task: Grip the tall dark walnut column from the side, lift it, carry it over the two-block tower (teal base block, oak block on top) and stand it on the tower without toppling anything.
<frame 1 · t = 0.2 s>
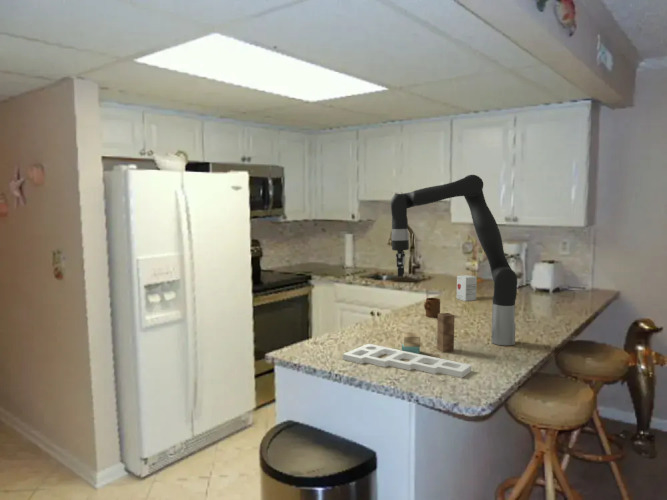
hand: (401, 275, 218), 29 cm above the worktop, tool pointing down, fingers open, 8 cm apart
supplement box: (466, 299, 311), on the worktop
holder: (404, 366, 184), on the worktop
tower base: (410, 353, 199), on the worktop, touching tower mid
walnut column: (445, 350, 203), on the worktop
mug: (430, 317, 263), on the worktop
tower mid: (411, 344, 198), point 4 cm above the worktop, touching tower base
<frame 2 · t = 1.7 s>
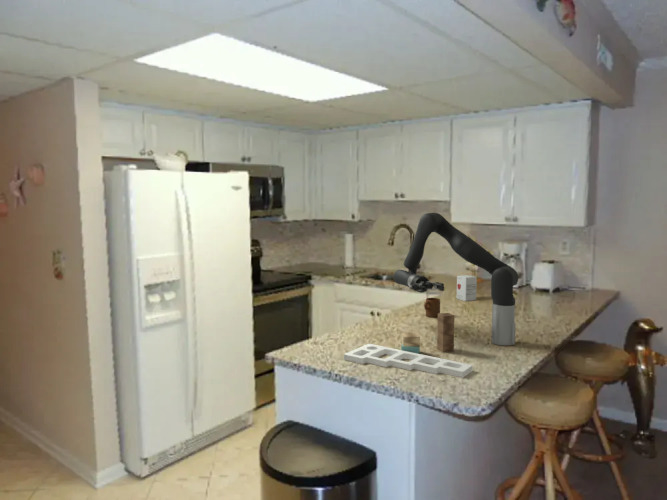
hand: (434, 289, 211), 24 cm above the worktop, tool horizontal, fingers open, 8 cm apart
tower base: (410, 353, 199), on the worktop
tower mid: (410, 344, 198), point 4 cm above the worktop
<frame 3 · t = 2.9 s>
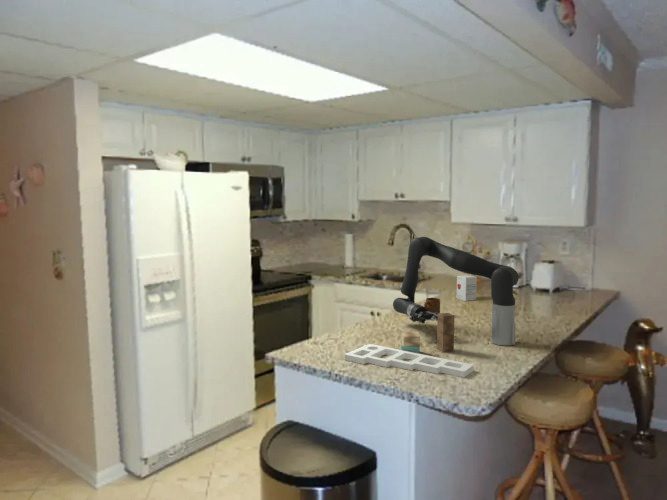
hand: (433, 320, 213), 10 cm above the worktop, tool horizontal, fingers open, 8 cm apart
tower base: (410, 353, 199), on the worktop, touching tower mid
tower mid: (410, 343, 199), point 4 cm above the worktop, touching tower base
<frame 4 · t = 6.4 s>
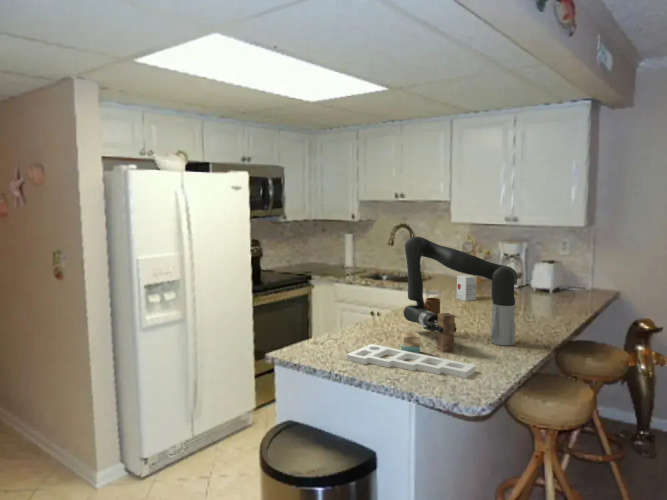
hand: (448, 330, 200), 9 cm above the worktop, tool horizontal, fingers closed on walnut column, 5 cm apart
walnut column: (445, 349, 203), on the worktop, touching gripper
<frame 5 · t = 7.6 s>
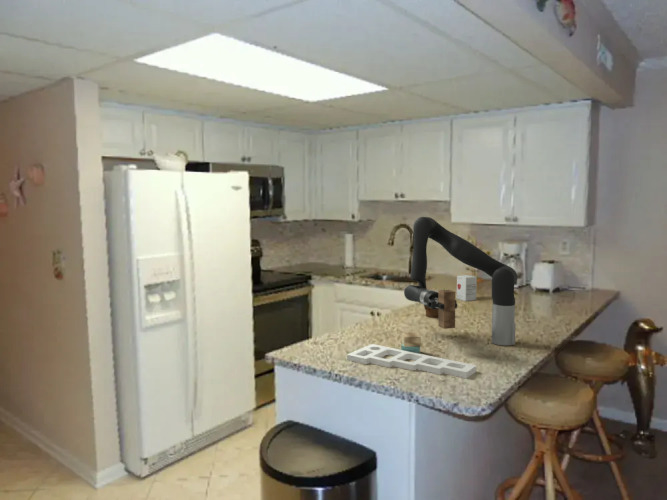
hand: (449, 306, 199), 19 cm above the worktop, tool horizontal, fingers closed on walnut column, 5 cm apart
walnut column: (446, 326, 202), point 10 cm above the worktop, touching gripper
when the fingers open (18 cm above the worktop, at t = 11.3 s): walnut column moves 1 cm, resting on tower mid.
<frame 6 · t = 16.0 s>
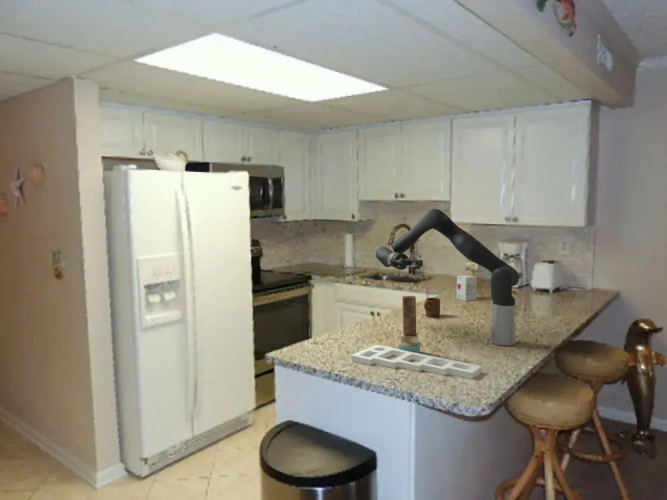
hand: (412, 264, 212), 34 cm above the worktop, tool horizontal, fingers open, 8 cm apart
holder: (413, 368, 183), on the worktop
walnut column: (409, 333, 198), point 8 cm above the worktop, touching tower mid
tower mid: (409, 343, 199), point 4 cm above the worktop, touching tower base, walnut column
at the end: walnut column 0.1 cm off-centre on the tower base, point 8.2 cm above the tower base's base; walnut column tilted 3°; tower mid moved 0.8 cm from its start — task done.
